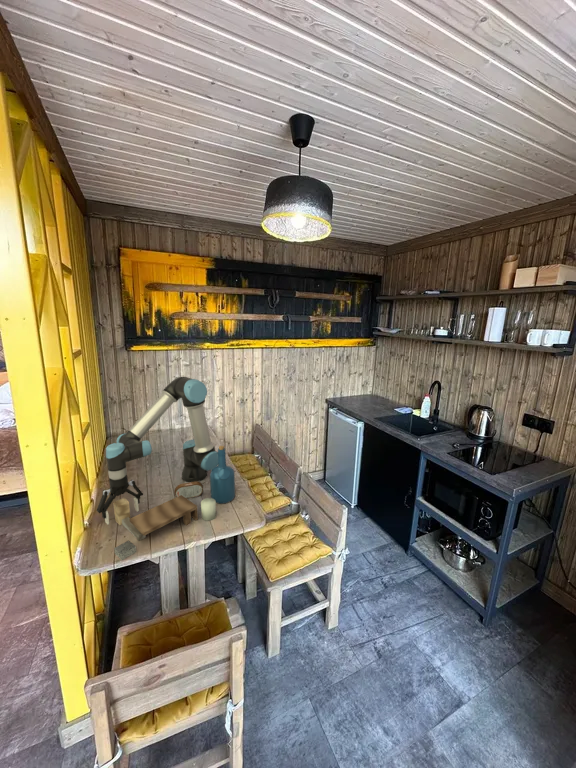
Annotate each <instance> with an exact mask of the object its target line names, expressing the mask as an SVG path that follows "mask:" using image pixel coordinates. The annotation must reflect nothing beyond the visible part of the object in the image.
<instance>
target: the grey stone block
mask: <svg viewBox="0 0 576 768" xmlns="http://www.w3.org/2000/svg"><path fill="white" fill-rule="evenodd" d="M113 550H114V554H115V556H117V557H118V558H119V559H120V560H121V561H123V560H125V559H127V558H129V557H130V556H132V555H134V554H136V553H137V546H136V545H135V544H134V543H132V542H131V541H130V540H126V541H125V542H123V543H121V544H119V545H117V546H116V547H114V548H113Z"/></svg>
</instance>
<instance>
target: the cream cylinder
mask: <svg viewBox="0 0 576 768" xmlns="http://www.w3.org/2000/svg"><path fill="white" fill-rule="evenodd" d="M216 505H217V503H216V501H215V499H212V498H211V497H207V498H204V499H202V500H201V501H200V512H201V514H200V516H201V520H202V521H205V522H211V521H213V520H215V519H216V518H217V506H216Z"/></svg>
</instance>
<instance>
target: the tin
mask: <svg viewBox="0 0 576 768" xmlns="http://www.w3.org/2000/svg"><path fill="white" fill-rule="evenodd" d="M173 491H174V496H175V498H176V497H178V496H180V495H182V496H184V497H185V498H186V499H193V498H197V497H199V496H201V495H202V494H203V492H204V485H203V483H202V482H200V481H197V482H184V483H179V484H178V485H177V486H176V487H175V488H174V490H173Z"/></svg>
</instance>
